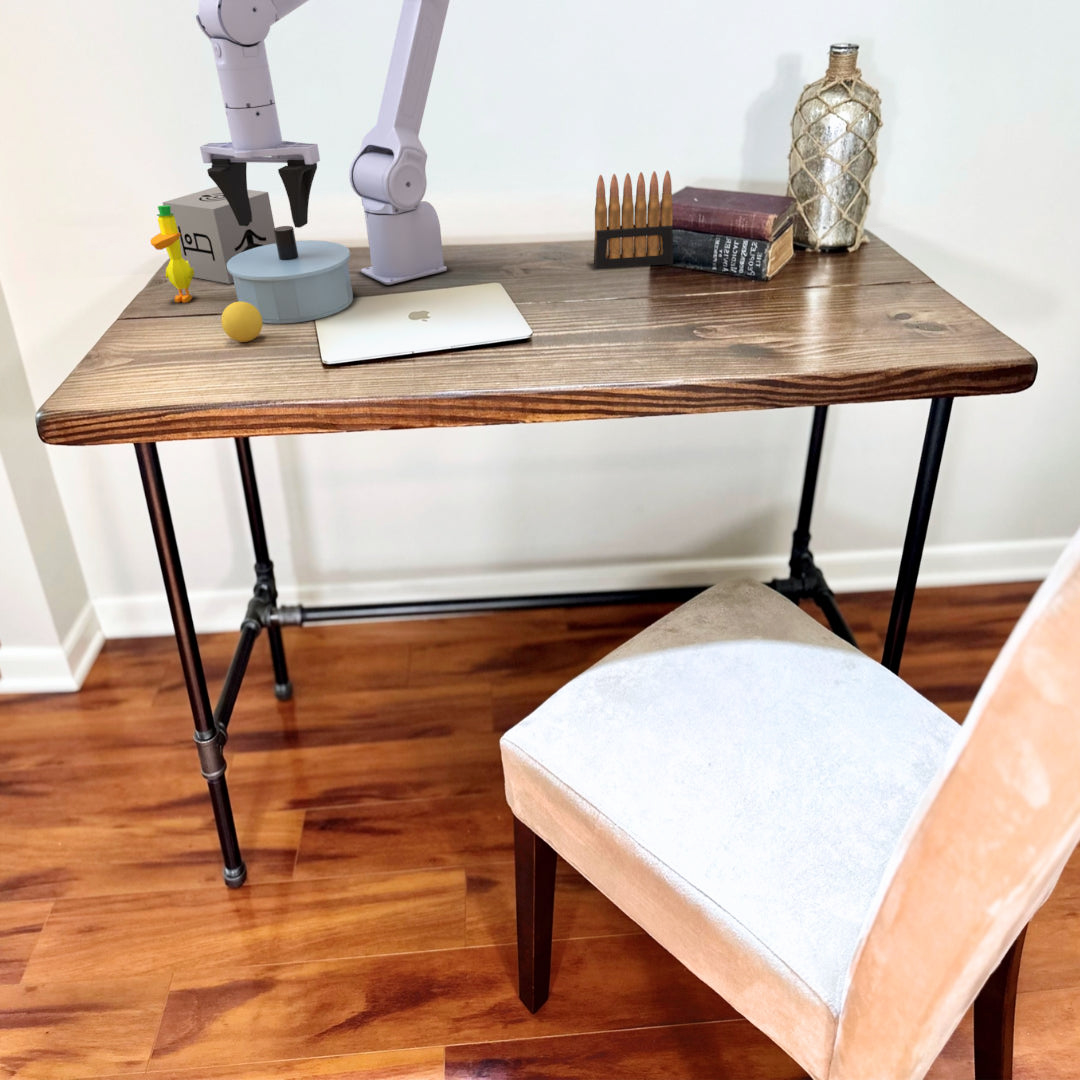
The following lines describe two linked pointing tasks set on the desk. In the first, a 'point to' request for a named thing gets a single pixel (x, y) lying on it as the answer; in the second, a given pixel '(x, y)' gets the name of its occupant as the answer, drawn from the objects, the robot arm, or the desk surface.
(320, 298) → the pot
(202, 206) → the icon cube
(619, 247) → the ammunition clip
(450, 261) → the desk surface
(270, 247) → the lid
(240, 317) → the ball
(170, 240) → the toy figure
